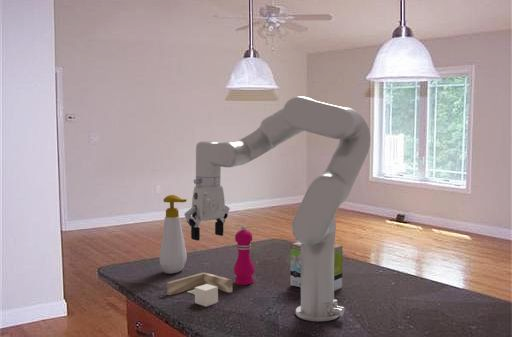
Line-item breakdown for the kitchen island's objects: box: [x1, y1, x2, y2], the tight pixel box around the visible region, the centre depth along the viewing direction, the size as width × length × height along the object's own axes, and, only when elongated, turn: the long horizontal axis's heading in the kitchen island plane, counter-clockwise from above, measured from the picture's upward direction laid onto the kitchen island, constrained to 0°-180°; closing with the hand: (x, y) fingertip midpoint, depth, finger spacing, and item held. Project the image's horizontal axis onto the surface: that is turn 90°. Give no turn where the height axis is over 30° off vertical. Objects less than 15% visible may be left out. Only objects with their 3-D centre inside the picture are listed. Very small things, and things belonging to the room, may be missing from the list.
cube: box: [194, 284, 219, 307], centre depth 166 cm, size 5×5×5 cm
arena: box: [166, 272, 233, 296], centre depth 176 cm, size 14×16×4 cm
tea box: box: [289, 241, 343, 292], centre depth 181 cm, size 15×10×15 cm, turn 47°
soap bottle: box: [159, 194, 188, 275], centre depth 201 cm, size 13×10×29 cm
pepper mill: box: [233, 225, 255, 286], centre depth 187 cm, size 7×7×20 cm
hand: (207, 237), depth 166 cm, fingers open, 9 cm apart
